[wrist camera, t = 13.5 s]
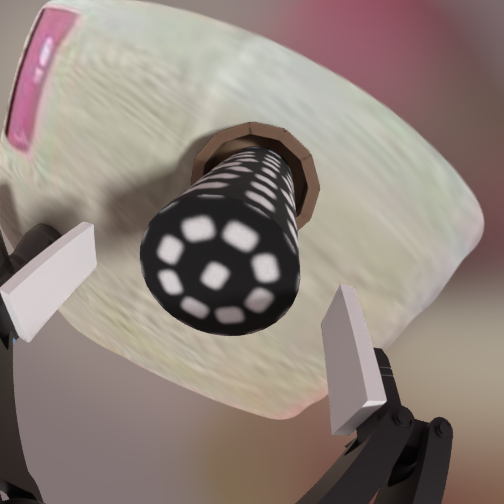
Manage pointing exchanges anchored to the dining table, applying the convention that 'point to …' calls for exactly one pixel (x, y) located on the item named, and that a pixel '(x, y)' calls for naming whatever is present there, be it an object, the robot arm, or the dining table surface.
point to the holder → (274, 139)
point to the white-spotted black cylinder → (227, 247)
